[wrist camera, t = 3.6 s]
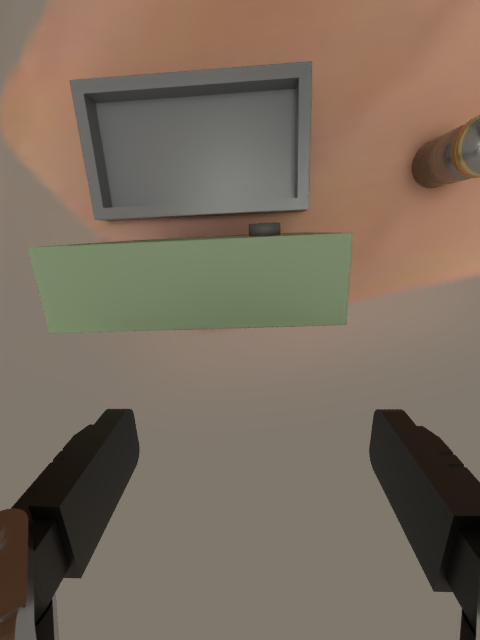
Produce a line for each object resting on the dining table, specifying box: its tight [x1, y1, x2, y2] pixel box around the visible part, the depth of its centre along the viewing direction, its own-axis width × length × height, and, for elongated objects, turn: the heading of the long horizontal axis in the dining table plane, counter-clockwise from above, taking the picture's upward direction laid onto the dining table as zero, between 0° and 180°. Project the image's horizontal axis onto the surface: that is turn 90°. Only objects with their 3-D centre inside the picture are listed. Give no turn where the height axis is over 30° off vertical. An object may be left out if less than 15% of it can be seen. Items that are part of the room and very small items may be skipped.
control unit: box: [28, 223, 353, 333], centre depth 21 cm, size 5×14×18 cm, turn 92°
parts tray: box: [70, 61, 312, 221], centre depth 26 cm, size 11×20×2 cm, turn 92°
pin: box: [412, 115, 480, 188], centre depth 23 cm, size 4×4×7 cm
